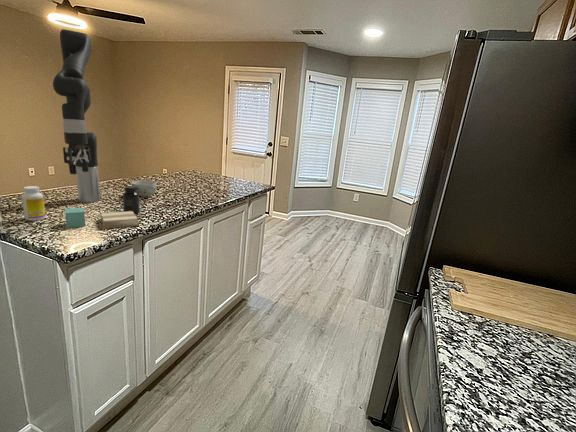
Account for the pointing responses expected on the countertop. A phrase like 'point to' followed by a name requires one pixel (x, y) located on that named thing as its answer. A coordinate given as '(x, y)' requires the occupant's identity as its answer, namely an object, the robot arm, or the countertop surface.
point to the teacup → (145, 187)
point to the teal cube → (75, 217)
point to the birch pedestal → (119, 219)
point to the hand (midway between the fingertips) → (79, 172)
